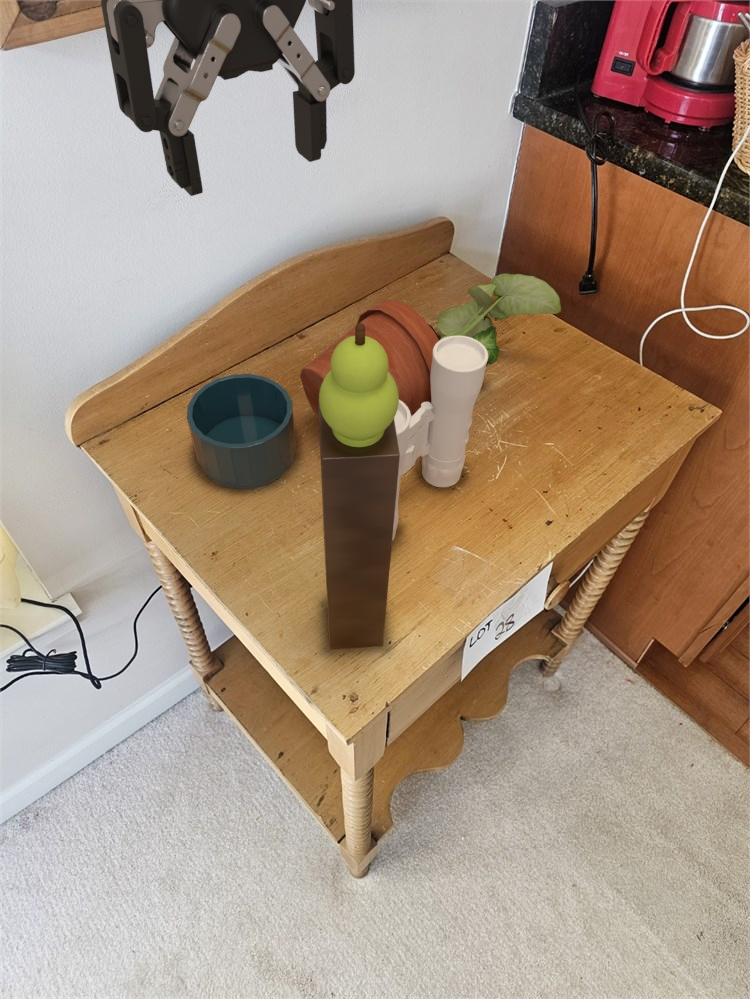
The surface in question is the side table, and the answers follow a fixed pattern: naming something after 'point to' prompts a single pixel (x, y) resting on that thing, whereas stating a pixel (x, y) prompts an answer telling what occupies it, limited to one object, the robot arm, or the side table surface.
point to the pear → (359, 391)
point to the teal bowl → (242, 430)
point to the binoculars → (442, 414)
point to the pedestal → (357, 534)
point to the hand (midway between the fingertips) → (251, 172)
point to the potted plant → (415, 338)
